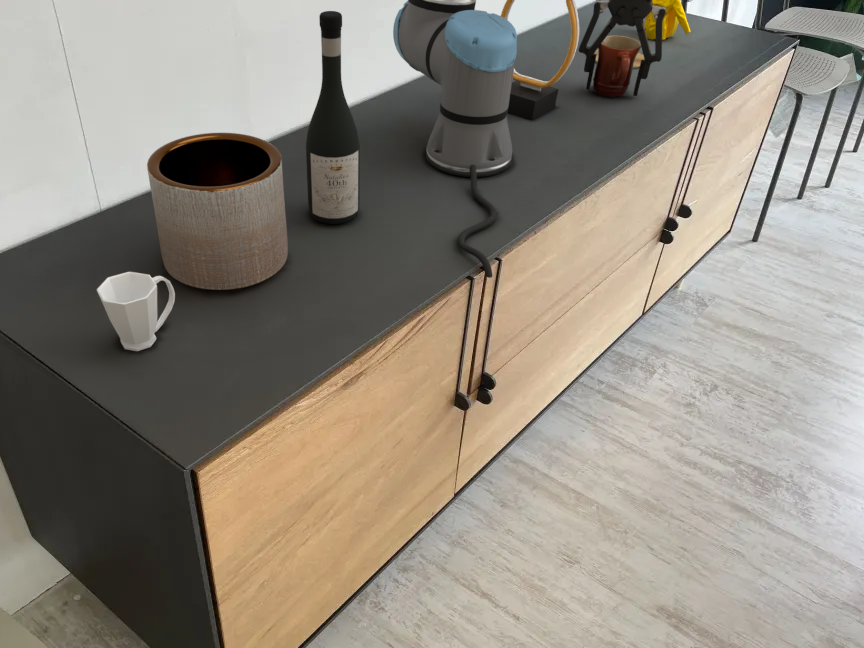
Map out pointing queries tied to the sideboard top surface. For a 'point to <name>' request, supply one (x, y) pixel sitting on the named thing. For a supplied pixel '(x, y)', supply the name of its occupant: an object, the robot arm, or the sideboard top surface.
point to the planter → (219, 210)
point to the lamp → (536, 94)
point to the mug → (615, 65)
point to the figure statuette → (667, 19)
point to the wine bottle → (332, 138)
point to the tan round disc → (636, 61)
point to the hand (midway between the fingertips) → (611, 90)
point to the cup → (134, 307)
